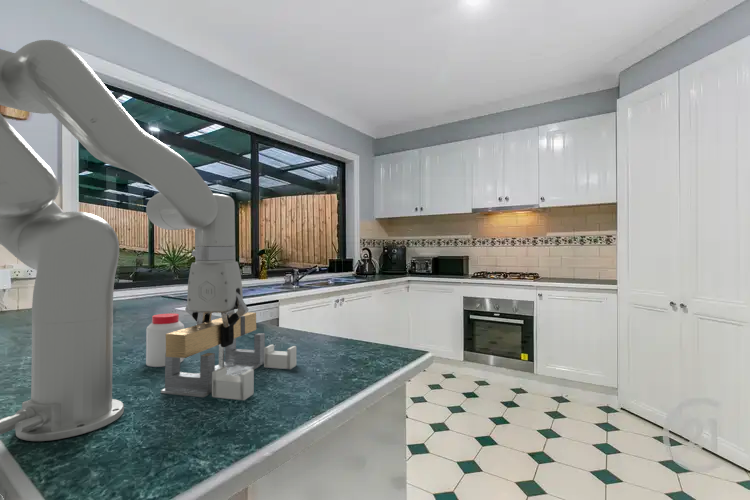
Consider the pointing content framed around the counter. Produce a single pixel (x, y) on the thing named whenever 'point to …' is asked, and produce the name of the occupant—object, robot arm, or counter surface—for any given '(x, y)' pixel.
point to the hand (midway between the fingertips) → (217, 344)
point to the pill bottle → (160, 337)
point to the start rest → (249, 375)
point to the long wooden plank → (204, 336)
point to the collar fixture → (212, 368)
